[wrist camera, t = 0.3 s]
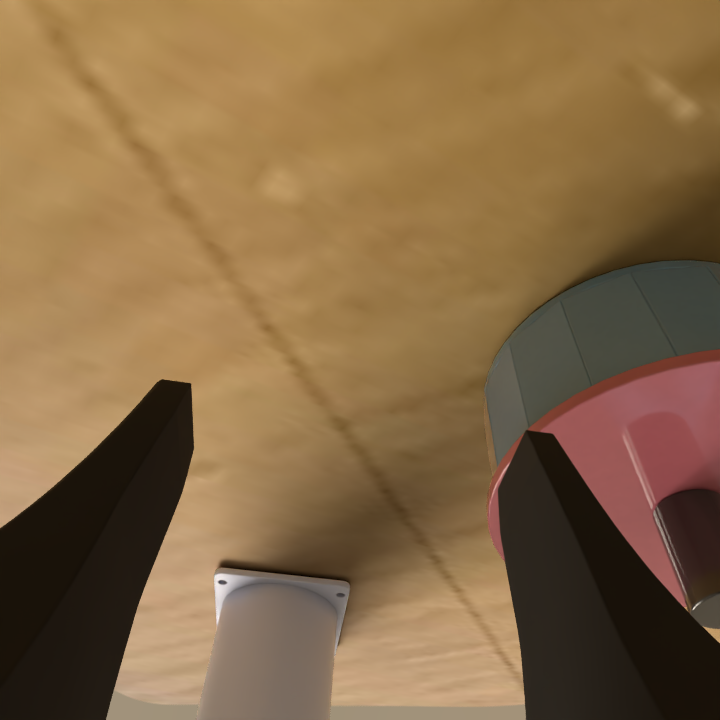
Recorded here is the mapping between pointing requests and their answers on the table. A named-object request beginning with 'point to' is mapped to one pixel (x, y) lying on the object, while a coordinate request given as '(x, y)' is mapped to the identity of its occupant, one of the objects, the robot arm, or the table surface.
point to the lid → (650, 468)
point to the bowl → (598, 340)
